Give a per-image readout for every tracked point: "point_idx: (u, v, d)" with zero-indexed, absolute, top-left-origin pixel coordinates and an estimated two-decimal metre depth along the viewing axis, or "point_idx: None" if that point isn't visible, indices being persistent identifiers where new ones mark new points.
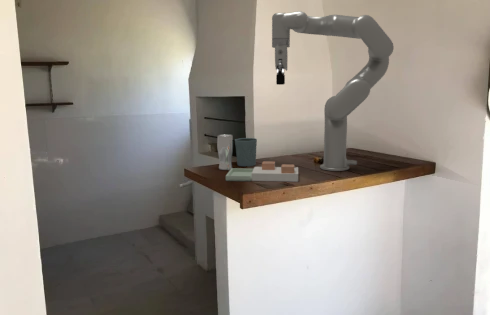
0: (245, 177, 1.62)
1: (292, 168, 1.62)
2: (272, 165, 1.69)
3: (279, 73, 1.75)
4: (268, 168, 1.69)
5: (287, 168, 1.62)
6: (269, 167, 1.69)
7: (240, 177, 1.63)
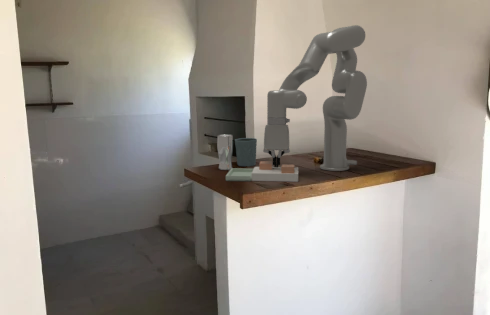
0: (245, 177, 1.62)
1: (292, 168, 1.62)
2: (269, 165, 1.69)
3: None
4: (265, 168, 1.69)
5: (287, 168, 1.62)
6: (267, 167, 1.69)
7: (240, 177, 1.63)
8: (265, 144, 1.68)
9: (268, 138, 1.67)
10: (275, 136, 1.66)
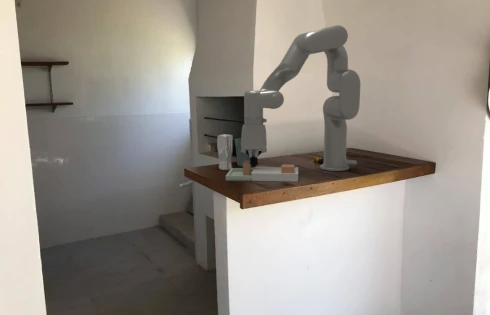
0: (245, 177, 1.62)
1: (292, 168, 1.62)
2: (244, 164, 1.70)
3: None
4: (247, 168, 1.70)
5: (287, 168, 1.62)
6: (246, 167, 1.70)
7: (240, 177, 1.63)
8: (242, 144, 1.69)
9: (245, 137, 1.68)
10: (252, 136, 1.67)
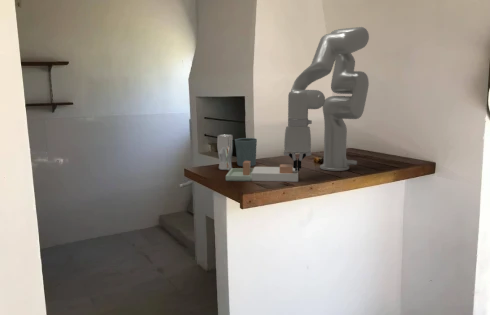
0: (245, 177, 1.62)
1: (290, 168, 1.62)
2: (244, 164, 1.70)
3: None
4: (247, 168, 1.70)
5: (285, 168, 1.62)
6: (246, 167, 1.70)
7: (240, 177, 1.63)
8: (286, 147, 1.61)
9: (289, 140, 1.60)
10: (296, 138, 1.59)
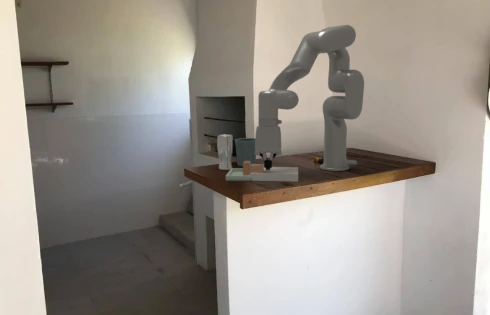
0: (245, 177, 1.62)
1: (261, 167, 1.63)
2: (244, 164, 1.70)
3: None
4: (247, 168, 1.70)
5: (256, 167, 1.63)
6: (246, 167, 1.70)
7: (240, 177, 1.63)
8: (256, 146, 1.62)
9: (259, 140, 1.62)
10: (266, 138, 1.61)
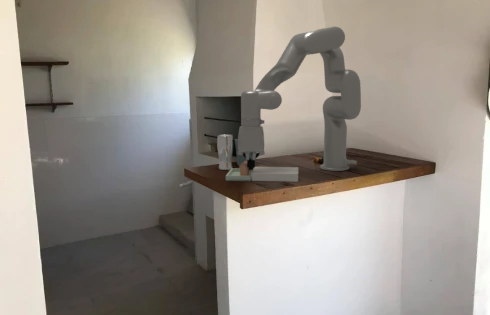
0: (245, 177, 1.62)
1: (240, 167, 1.64)
2: None
3: None
4: None
5: (241, 172, 1.65)
6: None
7: (240, 177, 1.63)
8: (239, 146, 1.63)
9: (242, 139, 1.63)
10: (249, 138, 1.62)
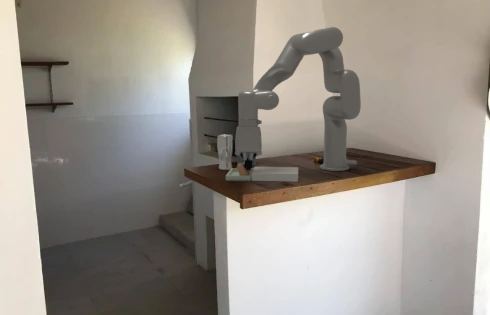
0: (245, 177, 1.62)
1: (238, 167, 1.65)
2: None
3: None
4: None
5: (240, 172, 1.65)
6: None
7: (240, 177, 1.63)
8: (236, 146, 1.63)
9: (239, 140, 1.63)
10: (246, 138, 1.62)
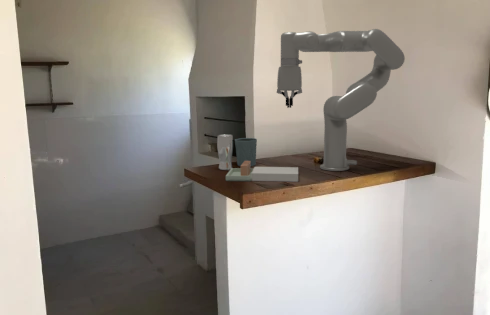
0: (245, 177, 1.62)
1: (242, 167, 1.64)
2: None
3: None
4: None
5: (242, 172, 1.65)
6: None
7: (240, 177, 1.63)
8: (278, 85, 1.75)
9: (281, 78, 1.74)
10: (288, 76, 1.73)
